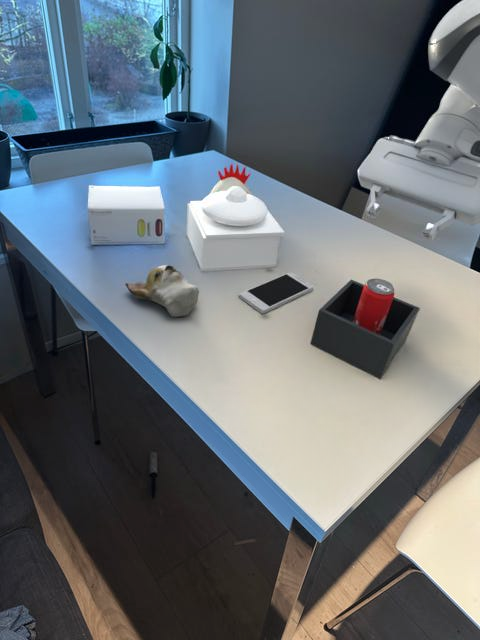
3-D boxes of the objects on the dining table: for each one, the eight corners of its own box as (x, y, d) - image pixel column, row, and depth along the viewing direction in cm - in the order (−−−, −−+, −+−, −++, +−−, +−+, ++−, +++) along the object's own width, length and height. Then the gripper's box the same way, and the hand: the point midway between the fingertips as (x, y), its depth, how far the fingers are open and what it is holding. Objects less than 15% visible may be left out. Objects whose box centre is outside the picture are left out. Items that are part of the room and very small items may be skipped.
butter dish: (186, 234, 111) (188, 171, 101) (255, 232, 116) (263, 171, 106) (201, 272, 97) (205, 202, 88) (278, 267, 102) (290, 201, 93)
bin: (405, 340, 85) (420, 307, 80) (380, 379, 76) (394, 344, 71) (341, 311, 91) (351, 279, 86) (310, 344, 82) (318, 309, 77)
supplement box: (90, 246, 101) (86, 207, 96) (92, 220, 111) (88, 184, 106) (165, 244, 105) (165, 207, 100) (160, 220, 115) (160, 184, 110)
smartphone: (238, 296, 91) (238, 292, 90) (289, 274, 100) (290, 271, 99) (262, 314, 87) (263, 310, 87) (313, 289, 96) (314, 286, 95)
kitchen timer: (249, 236, 113) (257, 178, 104) (197, 226, 115) (200, 168, 106) (259, 214, 124) (266, 160, 115) (211, 206, 126) (214, 151, 117)
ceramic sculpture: (168, 290, 75) (119, 258, 83) (169, 332, 80) (123, 297, 88) (215, 271, 81) (165, 243, 90) (214, 311, 86) (166, 281, 95)
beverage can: (357, 327, 86) (375, 274, 78) (381, 341, 83) (401, 287, 76) (342, 338, 82) (359, 284, 75) (367, 353, 80) (386, 298, 72)
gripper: (380, 120, 71) (335, 193, 71) (515, 156, 61) (464, 241, 61) (384, 144, 77) (342, 212, 76) (508, 181, 67) (461, 259, 66)
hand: (397, 225), depth 68 cm, fingers open, 8 cm apart
